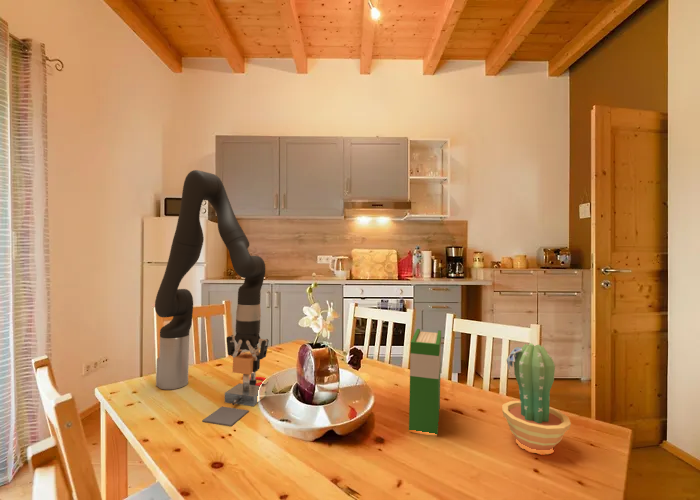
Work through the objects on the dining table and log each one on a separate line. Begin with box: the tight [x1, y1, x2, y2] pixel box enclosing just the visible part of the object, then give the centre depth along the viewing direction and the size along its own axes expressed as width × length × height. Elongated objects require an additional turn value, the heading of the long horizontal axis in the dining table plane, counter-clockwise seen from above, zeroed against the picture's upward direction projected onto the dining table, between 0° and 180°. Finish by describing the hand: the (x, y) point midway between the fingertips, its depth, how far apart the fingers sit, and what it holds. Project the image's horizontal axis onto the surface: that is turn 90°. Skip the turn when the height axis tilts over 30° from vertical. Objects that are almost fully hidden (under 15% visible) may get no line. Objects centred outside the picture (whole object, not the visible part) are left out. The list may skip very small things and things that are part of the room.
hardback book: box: [408, 328, 442, 435], centre depth 99 cm, size 18×7×24 cm, turn 164°
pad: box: [202, 406, 250, 427], centre depth 98 cm, size 9×9×1 cm
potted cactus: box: [501, 343, 572, 450], centre depth 87 cm, size 15×15×25 cm
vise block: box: [224, 374, 260, 407], centre depth 109 cm, size 10×11×8 cm
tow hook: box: [249, 371, 266, 386], centre depth 124 cm, size 8×13×9 cm
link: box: [232, 352, 254, 376], centre depth 111 cm, size 6×6×4 cm
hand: (246, 369), depth 111 cm, fingers closed on link, 6 cm apart
